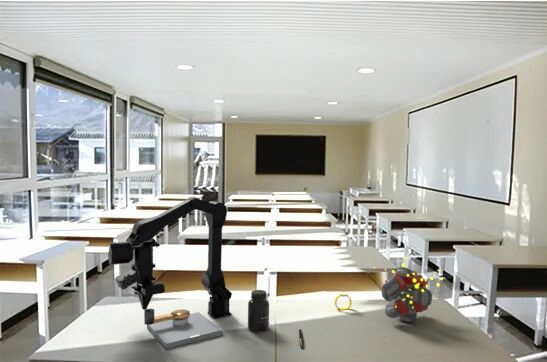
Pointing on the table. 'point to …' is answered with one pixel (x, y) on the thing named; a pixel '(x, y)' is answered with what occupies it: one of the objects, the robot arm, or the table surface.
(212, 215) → the robot arm
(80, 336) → the table surface
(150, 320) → the crank handle
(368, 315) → the table surface
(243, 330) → the table surface
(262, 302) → the supplement bottle
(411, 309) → the molecule model
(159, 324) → the base
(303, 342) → the fountain pen
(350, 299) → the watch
